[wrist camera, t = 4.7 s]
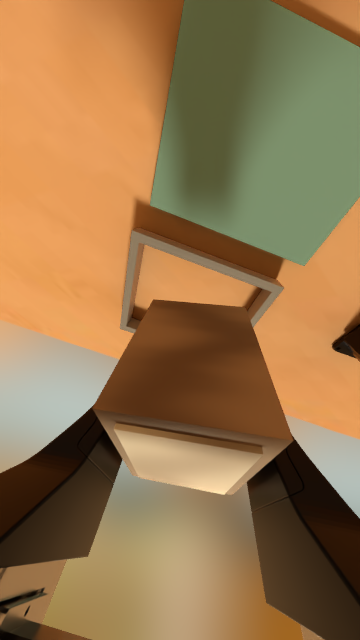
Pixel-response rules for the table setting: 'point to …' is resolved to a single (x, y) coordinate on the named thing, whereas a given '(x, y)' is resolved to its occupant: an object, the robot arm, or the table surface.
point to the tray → (142, 236)
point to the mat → (260, 127)
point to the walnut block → (194, 399)
